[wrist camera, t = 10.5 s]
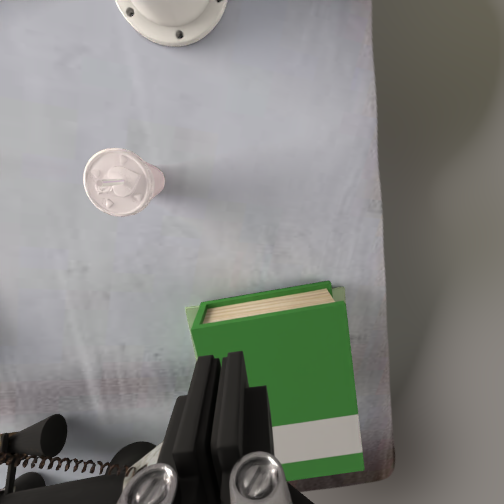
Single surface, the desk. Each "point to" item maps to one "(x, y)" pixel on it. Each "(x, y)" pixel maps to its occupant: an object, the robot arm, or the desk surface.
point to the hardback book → (294, 371)
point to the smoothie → (121, 182)
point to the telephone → (66, 467)
